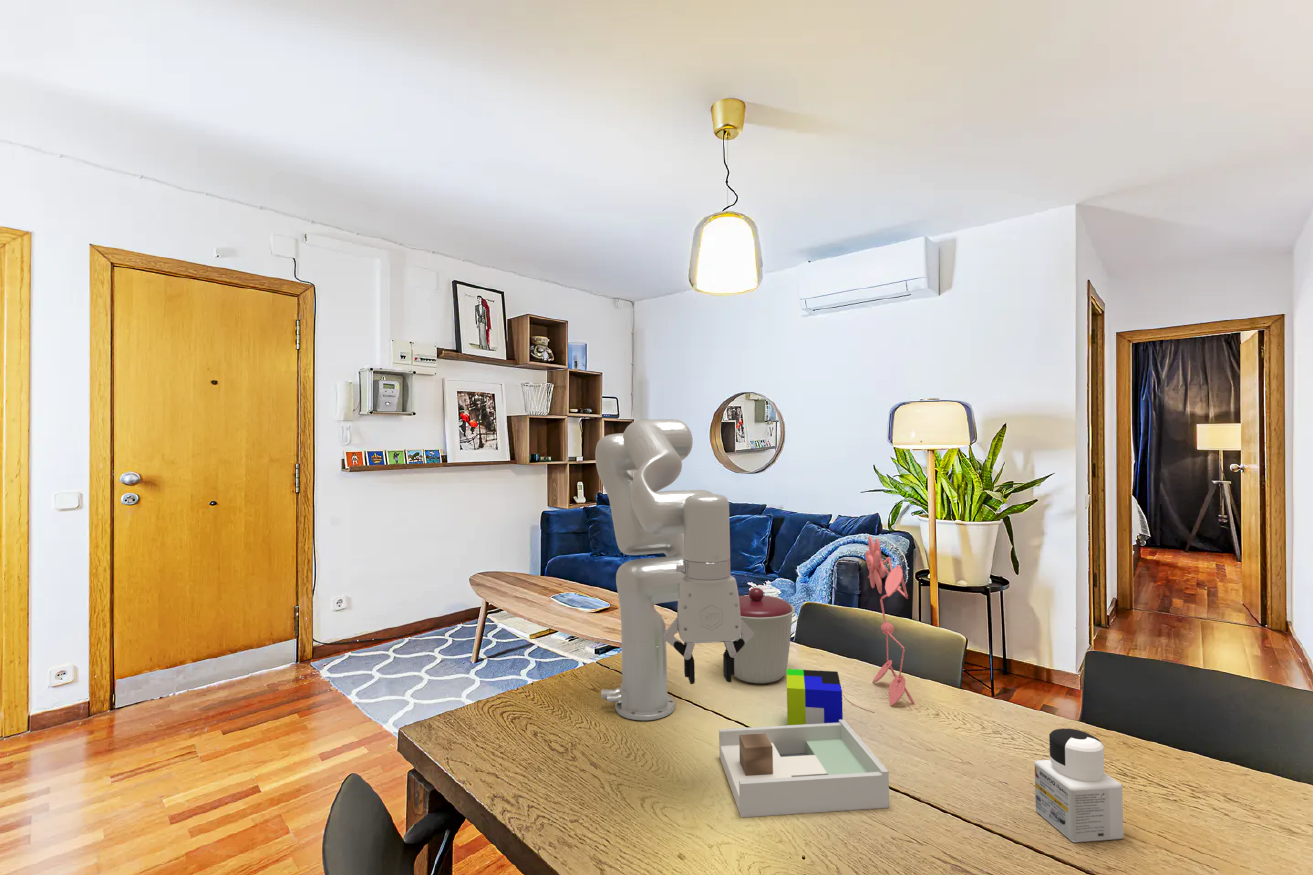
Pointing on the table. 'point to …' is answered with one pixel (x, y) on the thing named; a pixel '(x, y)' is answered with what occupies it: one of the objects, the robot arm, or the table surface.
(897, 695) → the figurine
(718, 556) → the robot arm
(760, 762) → the walnut block
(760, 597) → the canister
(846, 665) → the table surface
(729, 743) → the tray
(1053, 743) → the container
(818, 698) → the puzzle toy
